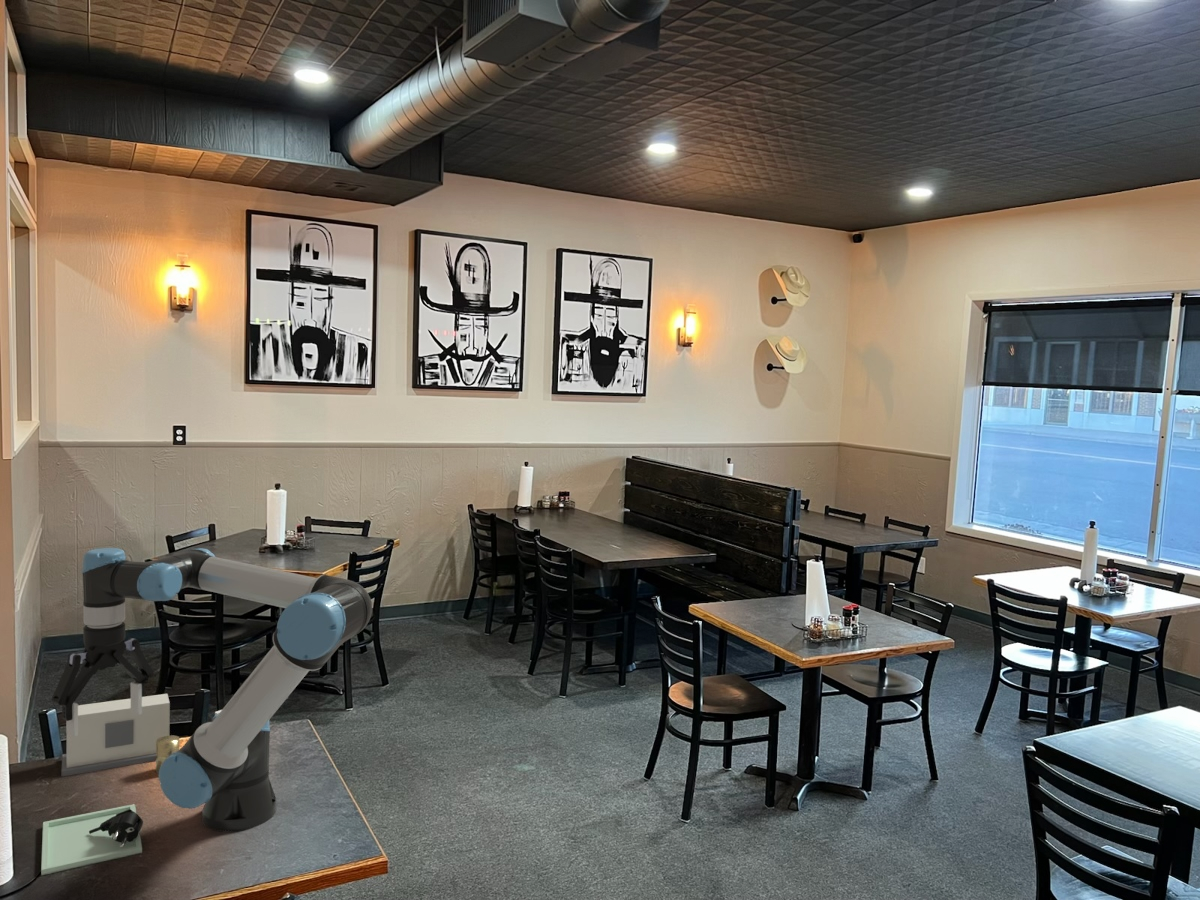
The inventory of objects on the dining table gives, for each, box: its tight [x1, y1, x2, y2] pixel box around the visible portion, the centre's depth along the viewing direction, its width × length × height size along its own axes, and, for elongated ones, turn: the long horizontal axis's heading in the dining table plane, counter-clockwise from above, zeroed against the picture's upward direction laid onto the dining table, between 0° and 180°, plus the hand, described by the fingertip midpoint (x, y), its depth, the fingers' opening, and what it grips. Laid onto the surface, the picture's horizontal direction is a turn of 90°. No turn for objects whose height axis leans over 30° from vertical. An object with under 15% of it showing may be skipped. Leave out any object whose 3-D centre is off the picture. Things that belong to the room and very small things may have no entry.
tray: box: [40, 803, 143, 877], centre depth 175 cm, size 20×17×2 cm
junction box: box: [61, 693, 171, 777], centre depth 212 cm, size 24×10×14 cm, turn 121°
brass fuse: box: [155, 734, 180, 776], centre depth 207 cm, size 5×5×8 cm
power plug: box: [89, 809, 144, 848], centre depth 174 cm, size 6×8×12 cm
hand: (105, 723), depth 178 cm, fingers open, 13 cm apart
